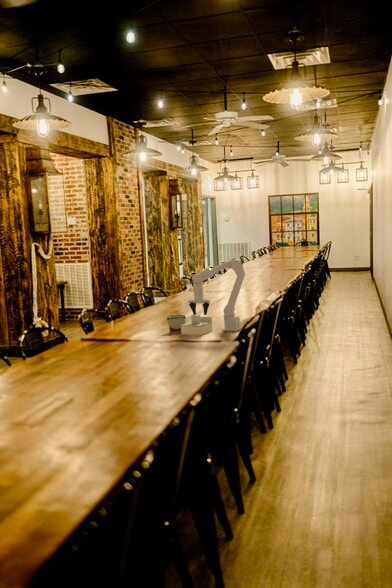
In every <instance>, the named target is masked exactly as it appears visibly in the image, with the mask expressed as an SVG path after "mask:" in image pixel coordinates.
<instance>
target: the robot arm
mask: <svg viewBox="0 0 392 588" xmlns="http://www.w3.org/2000/svg"><path fill="white" fill-rule="evenodd" d="M224 269H228V270H230V269H231V270H233V271H234V273H235V275H236V278H235V281H234V284H233V287H232V289H231V293H230V295H229V298H228V301H227V304H226V305H225V306H224V308H223V323H224V324H223V325H224V328H223V329H222V330H221V331H223V332H224V331H225V332H237V331H240V330H241V329H240V328H241V317H240V316H238V315H236V313H235V310H236V309H235V305H236V302H237V300H238V297H239V294H240V291H241V288H242V285H243V282H244V280H245V277H246V272H245V269H244V265H243V262H242V261H241V259H239V258H233V259H230V260H227V261H224V262H223V263H220V264H218V265H217V266H214V267H213V268H210V267H206V268H204V270H201V271H198V272H197V273H195V274H193V276H192V279H191V280H192V282H193V283H192V285H193V297H194V298H193V299H188V302H187V303H188V306H189V308H190V309H191V311H192V315H197V304H201V305H202V308H203V314H204V316H206V315H208V310H209V307H210V305H211V299H205V297H204V290H203V289H204V287H203V281H206V280H208V279H210V278H213V277H214V275H215V274H216V273H218V272H220V271H222V270H224Z"/></svg>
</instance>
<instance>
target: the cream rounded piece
mask: <svg viewBox="0 0 392 588" xmlns="http://www.w3.org/2000/svg"><path fill="white" fill-rule="evenodd" d="M190 317H192V324H200V317H201V314H196V315H193V314H192V315H191V316H190Z"/></svg>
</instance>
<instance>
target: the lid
mask: <svg viewBox="0 0 392 588" xmlns="http://www.w3.org/2000/svg"><path fill="white" fill-rule="evenodd" d="M190 317H191V316H190ZM210 323H212V324H213V319H212V316H200V324H192V317H191V321H189V322H185V324H183V325H181V327H203V326H206V325H208V324H210Z"/></svg>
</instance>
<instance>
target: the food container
mask: <svg viewBox="0 0 392 588" xmlns="http://www.w3.org/2000/svg"><path fill="white" fill-rule="evenodd" d="M186 320H187V317H186V315H184V314H174V315H168V316H167V318H166V321H167V324H168V329H169V333H172V334H173V333H181V325H183V324H186Z"/></svg>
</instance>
